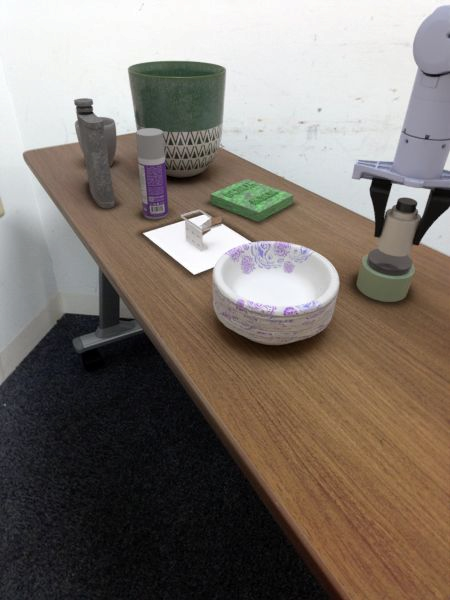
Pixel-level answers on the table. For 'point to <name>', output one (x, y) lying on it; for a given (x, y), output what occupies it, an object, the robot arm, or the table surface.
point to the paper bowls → (274, 291)
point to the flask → (95, 153)
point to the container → (152, 172)
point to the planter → (181, 110)
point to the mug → (109, 136)
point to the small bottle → (399, 228)
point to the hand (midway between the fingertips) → (396, 237)
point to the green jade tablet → (251, 199)
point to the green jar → (385, 276)
